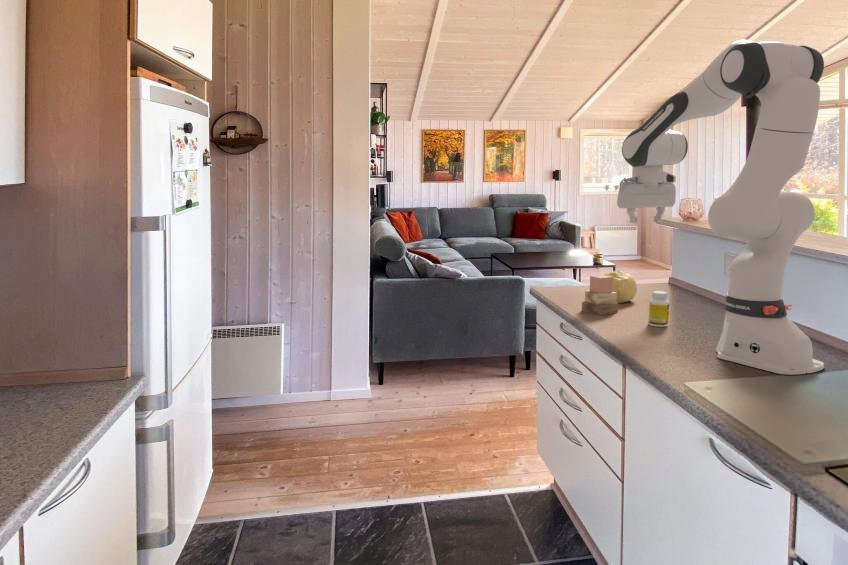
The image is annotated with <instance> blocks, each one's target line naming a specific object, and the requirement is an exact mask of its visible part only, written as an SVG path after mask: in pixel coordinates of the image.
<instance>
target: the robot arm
mask: <svg viewBox="0 0 848 565" xmlns="http://www.w3.org/2000/svg"><path fill="white" fill-rule="evenodd" d="M824 60H825V59H824V58H823V55H822V54H821V53H820V51H818V50H817V49H815V48H813V47H810V46H806V45H796V44H792V43H791V44H790V43H783V42H781V41H759V42H758V41H753V40H748V39H741V40H736V41H734V42H733V43H731V44H730V45H728V46H727V47H726V48H725V49H723V50H722V52H721V53H719V54H718V56H716V57H715V58H714V59H713V60H712V61H711V62H710V63H709V65H708V66H707V67H706V68H705V69H704V71H703V72H702V73H701V74H700V75H699V76H698V77H696V79H695V80H693V81H692V82H691V83H690V84H688V85H687V86H686V87H684V88H683V89H682V90H680V91H679V92H677V93H675V94H673V95H672V96H671V97H669V98H668V99H667V100H666V101H665V102H664V103H663V104H662V105H661V106H660V107H659V108H658V109H657V110H656V111H655V112H654V113H653V114H652V115H651V116H650V117H649V118H648V119H647V120H645V122H644V123H642V124H639V125H638V126H637V127H636V129H634V130H633V131H631V132H630V133H629V134H628V135H627V136H626V138H625V139H624V141H623V143H622V146H621V153H622V157H623V158H624V160H625V161H626V163H628V164H629V165H630V166H631V167H632V168H631V169H632V170H631V171H632V172H631V174H632V175H631V176H632V177H624V178H623V179H622V180H621V181H620V182H619V187H618V193H617V200H616V206H617V207H618V209H626V213H627V215H628V217H629V223H630V224H637V223H638V219H639V218H638V217H636V215H635V214H636V213H635V212H636V209H642V208H643V209H646V208H656V214H655V215H654V216H653V222H654V223H661V222H662V217H663V214H664V213H665V210H666V208H670V207H671V208H672V207H674V205H675V204H676V199H677V198H676V197H677V195H676V193H677V189H676V185H675V183H676V180H677V177H676V176H675V175H674V174H671V173H670V172H667V171H665V170H664V166H673V165H677V164H680V163H681V162H682V161H684V159H685V158H686V156H687V153H688V150H689V144H688V140H687V137H686V136H685V134H684V133H683V132H679V131H675V130H672V128H673V127H674V126H676V125H679V124H681V123H684V122H687V121H691V120H695V119H700V118H701V119H702V118H708V117H714V116H717V115H721V114H722V113H724V112H726V111H727V110H728V109H730V108H731V107H732V106H733V105H735V103H737V101H739V100H740V98H741V97H742V96H743V97H744V98H746V99H750V98H752V97H754V96H756V97H757V98H758V99H759V101H760V106H761V107H760V112H759V115H758V119H757V123H756V125H755V126H756V127H755V129H754V134H753V138H752V141H751V144H750V145H751V146H750V149H749V151H748V154H747V155H748V156H747V157H746V158H747V159H746V160H745V163H744V165H743V168H742V169H741V171H740V173H739V174H738V175H737V177H736V179H735V180H734V182H733V183H732V185H730V187H729V188H728V189H727V190H726V191H725V192H724V193H723V194H721V195H720V196H719V197H717V198H716V199H714V201H713V202H712V203H711V205H710V207H709V209H708V214H707V220H708V225H709V227H710V229H711V231H712V232H713V233H714V234H715V235H716V236H718V237H720V238H725V239H730V240H735V241H745V240H747V243H746V244H745V246H744V248H743V250H742V252H741V253H740V254H739V255H737V257H735V258H734V259H733V260H732V261H731V263H730V266H729V273H728V274H729V276H728V286H727V287H728V288H727V294H726V295H725V299H724V310H725V316H724V321H723V326H722V331H721V335H720V338H719V340H718V343H717V346H716V348H715V351H716V353H717V358H718V359H721V360H725V361H728V362H732V363H737V364H740V365H744V366H747V367H752V368H756V369H759V370H764V371H766V372H772V373H774V374H779V375H791V376H793V375H804V374H806V373H807V374H812V373H816V372H819V371H822V370H823V369H824V368H825V363H824V362H823V361H820V360H819V359H815V358H813V357H814V354H813V352H814V351H813V344H812V340H811V339H810V337H809V336H807V335H806V333H805V332H803V331H802V330H801V329H800V327H798V326H797V325H796V324H795V323H794V322H793V321H792V320H791V319H790V318H789V317H788V316H787V315H788V312H787V311H789V310H792V308H791V307H792V306H793V304H785V302H784V300H783V298H782V293H783V292H782V290H783V283H784V277H785V276H784V275H785V269H786V265H787V262H788V259H789V256H790V255H791V254H790V253H791V252H792V250H793V248H794V246H795V244H796V242H797V241H798V239H799V238H800V237H801V235H802V234H803V233H804V232H805V231H807V230H808V229H809V228H810V227H811V225H812V223H813V221H814V220H815V219H814V218H815V207H814V204H813V202H812V200H810V198H809V197H807V196H806V195H803V194H800V193H797V192H792V191H788V190H782V189H783V188H784V187H785V185H786V184H787V183H788V181H790V180H791V179H792V178H793V177H795V176H796V175H797V174H798V173H800V172H801V170H803V168H804V166H805V163H806V160H807V156H808V153H809V149H810V146H811V143H812V139H813V136H814V133H815V128H816V124H817V119H818V115H819V109H820V99H821V88H820V86H819V84H818V83H819V81H820V80H821V78H822V76H823V73H824V68H825V62H824ZM789 307H790V308H789Z"/></svg>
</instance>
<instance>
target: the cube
mask: <svg viewBox="0 0 848 565" xmlns="http://www.w3.org/2000/svg"><path fill="white" fill-rule="evenodd" d="M612 289H613V277H610V276H606V275H604V274H598V275H597V274H596V275H590V276H589V290H590V291H591V292H595V293H599V294H602V293H612Z"/></svg>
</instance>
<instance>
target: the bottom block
mask: <svg viewBox="0 0 848 565" xmlns="http://www.w3.org/2000/svg"><path fill="white" fill-rule="evenodd" d="M581 312H583V313H588V314H592V313H593V315H596V314H598V315H597V316H601V315H603V316H606V314H607V315H611V314H610V313H612V314H615V313H618V312H619V303H617V302H616V304H606V305H595V304H592V303H589V302H586V301H585V300H583V301H582V302H581Z"/></svg>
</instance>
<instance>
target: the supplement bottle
mask: <svg viewBox="0 0 848 565" xmlns="http://www.w3.org/2000/svg"><path fill="white" fill-rule="evenodd" d="M651 297H652V298H651V299H650V300H649V304H648V316H647V317H648V318H647V320H648V321H647V323H648V325H649V326H651V327H656V328H658V327H659V328H665V327H668V325H669V312H670V301H669V300H668V299H667V298H668V292H666V291H662V290H655V291H652V295H651Z"/></svg>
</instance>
